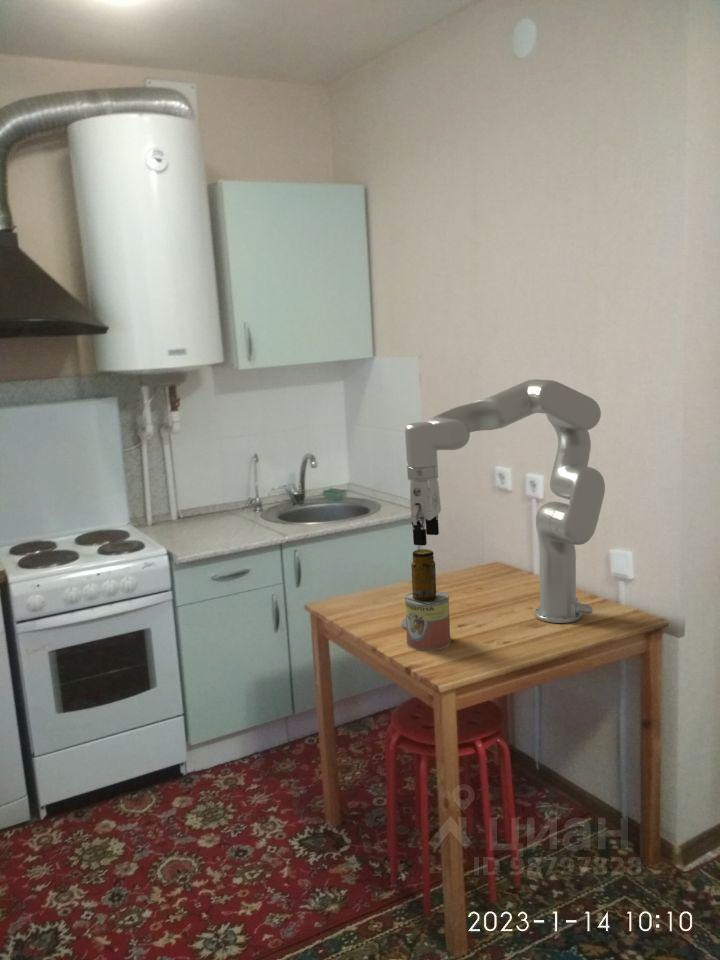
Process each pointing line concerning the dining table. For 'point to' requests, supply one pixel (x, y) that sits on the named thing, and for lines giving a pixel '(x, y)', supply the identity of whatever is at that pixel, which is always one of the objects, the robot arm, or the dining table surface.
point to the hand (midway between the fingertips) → (426, 539)
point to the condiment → (424, 577)
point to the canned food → (428, 624)
